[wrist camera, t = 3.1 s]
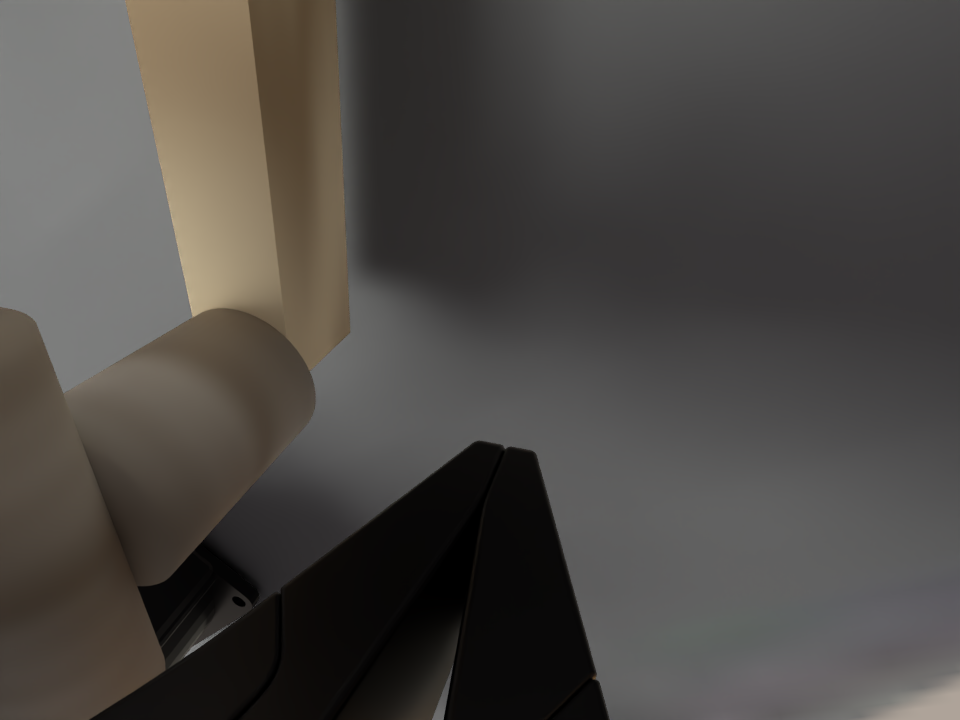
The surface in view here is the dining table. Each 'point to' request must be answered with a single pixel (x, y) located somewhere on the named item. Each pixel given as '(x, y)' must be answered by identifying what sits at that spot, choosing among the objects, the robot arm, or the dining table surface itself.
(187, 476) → the crank
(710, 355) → the dining table surface
